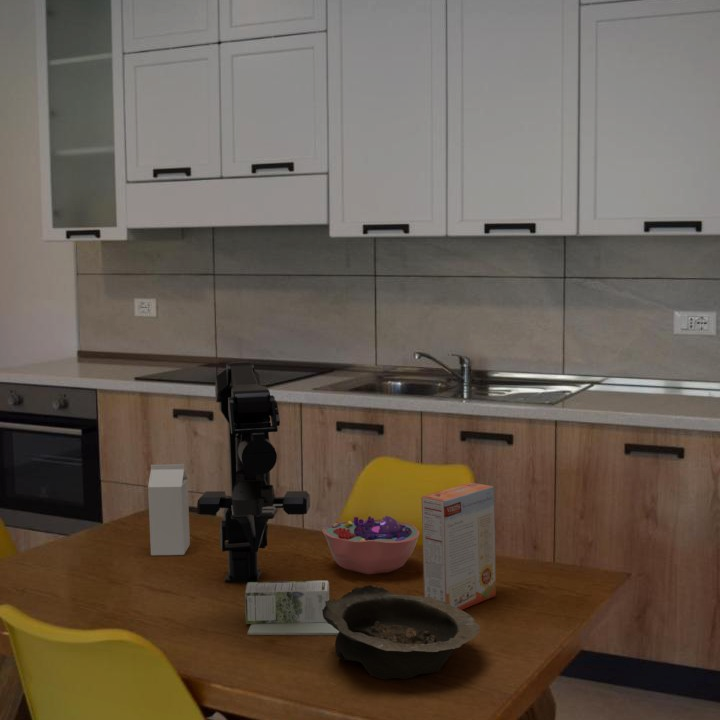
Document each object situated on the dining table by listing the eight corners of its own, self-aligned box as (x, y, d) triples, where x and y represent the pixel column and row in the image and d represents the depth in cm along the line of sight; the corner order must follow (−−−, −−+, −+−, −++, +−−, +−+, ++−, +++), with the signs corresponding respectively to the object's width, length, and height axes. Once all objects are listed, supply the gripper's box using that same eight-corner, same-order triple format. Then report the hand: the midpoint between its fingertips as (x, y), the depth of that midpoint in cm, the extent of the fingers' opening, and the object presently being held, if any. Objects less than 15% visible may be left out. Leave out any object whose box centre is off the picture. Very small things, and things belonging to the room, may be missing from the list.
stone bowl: (292, 649, 167) (294, 593, 166) (422, 631, 179) (424, 578, 178) (368, 704, 145) (371, 640, 145) (510, 679, 158) (513, 619, 157)
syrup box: (247, 613, 183) (329, 610, 184) (245, 625, 177) (330, 622, 178) (246, 581, 183) (329, 579, 183) (244, 592, 177) (329, 590, 177)
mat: (259, 609, 186) (258, 607, 186) (348, 610, 185) (347, 608, 185) (247, 634, 174) (247, 632, 174) (342, 635, 173) (342, 632, 173)
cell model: (345, 553, 220) (344, 501, 218) (433, 564, 211) (433, 510, 210) (307, 576, 204) (306, 520, 203) (400, 589, 196) (399, 531, 194)
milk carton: (184, 555, 220) (180, 467, 218) (150, 556, 220) (147, 468, 218) (190, 546, 227) (186, 460, 225) (157, 546, 227) (154, 461, 225)
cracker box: (471, 590, 195) (470, 480, 192) (497, 597, 190) (496, 485, 188) (421, 609, 185) (419, 494, 183) (447, 617, 181) (445, 499, 178)
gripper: (188, 473, 170) (191, 565, 171) (301, 472, 168) (303, 566, 170) (202, 459, 181) (205, 546, 182) (309, 458, 179) (311, 546, 181)
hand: (255, 551), depth 179 cm, fingers closed
